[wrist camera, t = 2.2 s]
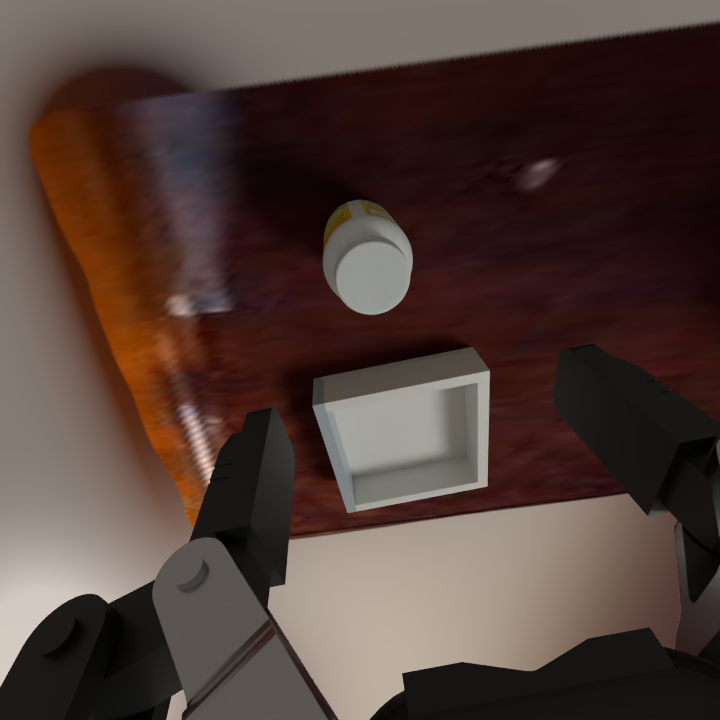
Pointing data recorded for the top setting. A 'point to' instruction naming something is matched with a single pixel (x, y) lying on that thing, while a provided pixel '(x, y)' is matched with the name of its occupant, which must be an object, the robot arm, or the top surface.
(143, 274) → the top surface
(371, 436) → the box
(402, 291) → the supplement bottle
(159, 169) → the top surface
